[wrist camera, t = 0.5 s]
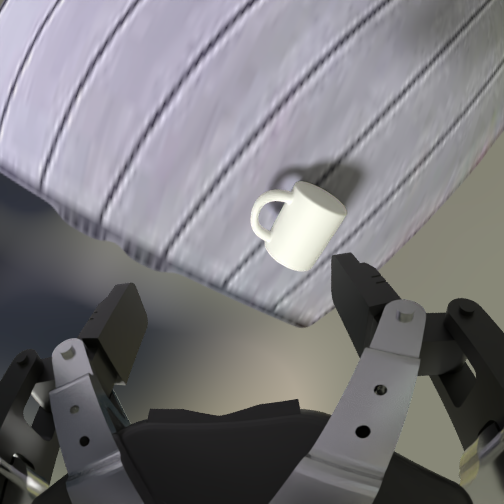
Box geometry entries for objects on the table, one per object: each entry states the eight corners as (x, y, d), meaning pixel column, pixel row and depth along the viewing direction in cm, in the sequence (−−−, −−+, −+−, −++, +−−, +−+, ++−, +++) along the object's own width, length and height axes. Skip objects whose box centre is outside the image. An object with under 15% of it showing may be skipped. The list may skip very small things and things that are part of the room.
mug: (334, 193, 40) (356, 221, 34) (304, 243, 46) (318, 277, 39) (263, 164, 36) (274, 189, 30) (235, 223, 42) (240, 257, 35)
